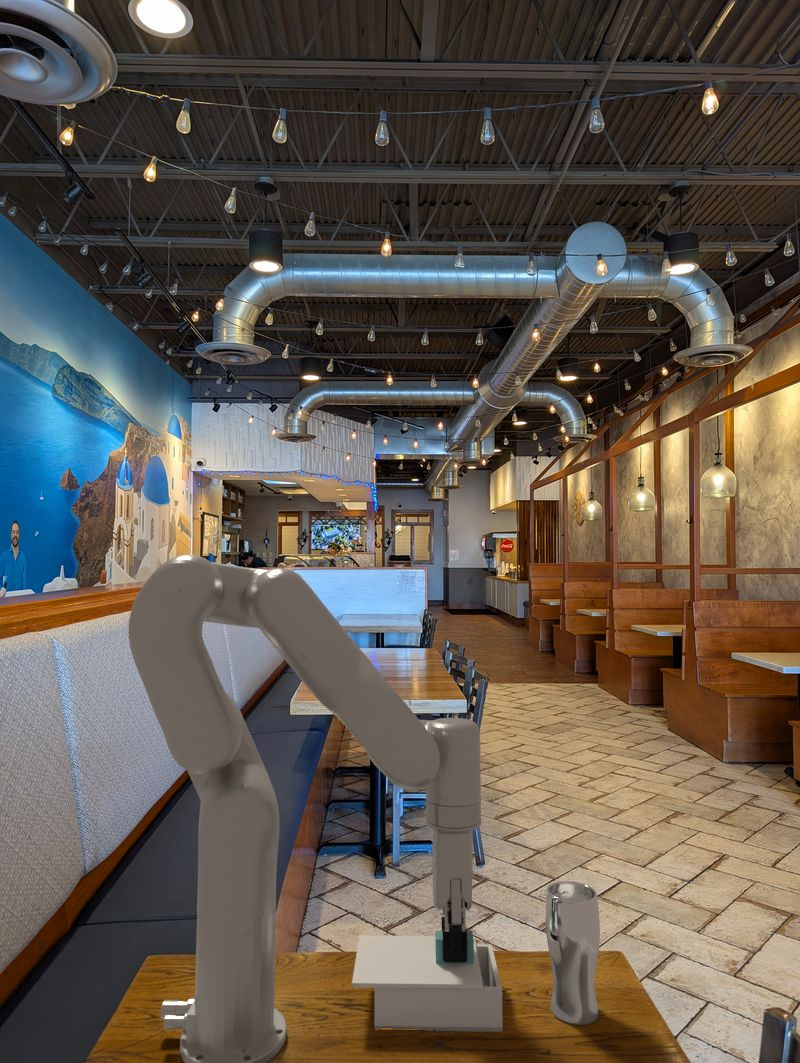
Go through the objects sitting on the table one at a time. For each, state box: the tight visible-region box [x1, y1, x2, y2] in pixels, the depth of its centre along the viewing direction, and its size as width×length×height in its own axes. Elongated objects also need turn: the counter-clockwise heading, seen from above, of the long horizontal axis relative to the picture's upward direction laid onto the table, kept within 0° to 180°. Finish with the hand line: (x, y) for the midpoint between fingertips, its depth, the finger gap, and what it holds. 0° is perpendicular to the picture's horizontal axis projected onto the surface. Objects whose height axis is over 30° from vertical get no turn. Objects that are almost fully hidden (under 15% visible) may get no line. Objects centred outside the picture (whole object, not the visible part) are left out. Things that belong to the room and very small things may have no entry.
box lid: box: [351, 930, 483, 989], centre depth 90 cm, size 16×12×4 cm
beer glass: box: [545, 880, 601, 1026], centre depth 89 cm, size 7×7×15 cm
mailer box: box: [373, 943, 504, 1033], centre depth 90 cm, size 16×11×5 cm
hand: (454, 953), depth 90 cm, fingers closed on box lid, 2 cm apart
